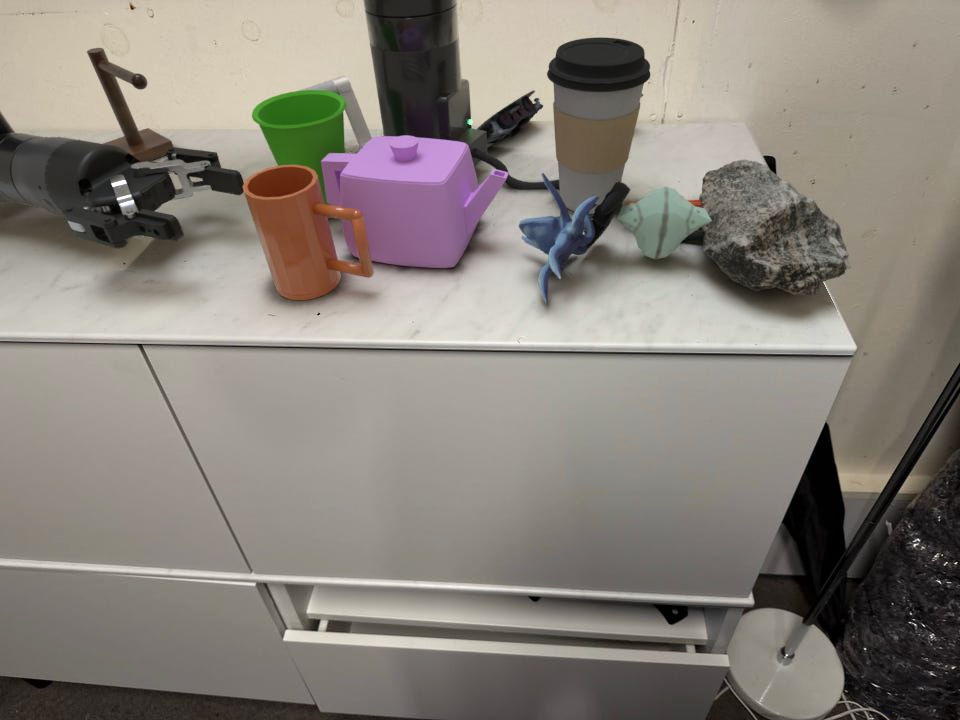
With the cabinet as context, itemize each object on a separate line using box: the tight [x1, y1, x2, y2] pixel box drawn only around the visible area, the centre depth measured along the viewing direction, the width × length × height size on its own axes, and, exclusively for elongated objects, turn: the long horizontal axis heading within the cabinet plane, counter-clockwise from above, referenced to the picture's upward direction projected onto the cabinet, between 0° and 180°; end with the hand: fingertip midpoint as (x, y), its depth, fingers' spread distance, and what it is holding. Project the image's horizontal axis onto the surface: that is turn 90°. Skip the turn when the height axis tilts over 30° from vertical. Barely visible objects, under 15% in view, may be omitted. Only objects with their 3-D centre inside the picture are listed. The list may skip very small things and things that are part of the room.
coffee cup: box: [546, 36, 651, 215], centre depth 61 cm, size 9×9×15 cm
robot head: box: [616, 186, 712, 260], centre depth 55 cm, size 8×4×7 cm, turn 82°
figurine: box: [518, 172, 631, 305], centre depth 54 cm, size 10×12×8 cm
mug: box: [243, 165, 375, 301], centre depth 53 cm, size 10×6×10 cm, turn 68°
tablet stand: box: [298, 75, 373, 154], centre depth 73 cm, size 9×8×8 cm
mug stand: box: [86, 47, 174, 162], centre depth 74 cm, size 14×6×12 cm, turn 47°
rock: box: [698, 159, 852, 296], centre depth 55 cm, size 18×10×10 cm
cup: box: [251, 90, 346, 220], centre depth 64 cm, size 9×9×11 cm
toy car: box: [476, 89, 544, 148], centre depth 78 cm, size 8×12×3 cm
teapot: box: [321, 135, 510, 269], centre depth 58 cm, size 18×10×10 cm, turn 75°
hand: (211, 205), depth 56 cm, fingers open, 8 cm apart
